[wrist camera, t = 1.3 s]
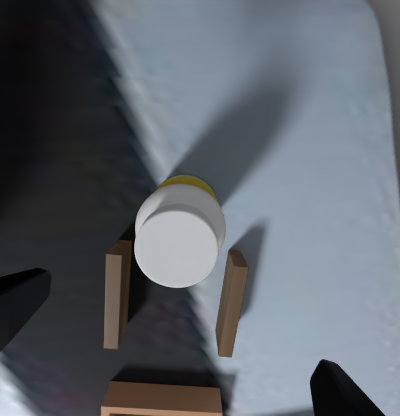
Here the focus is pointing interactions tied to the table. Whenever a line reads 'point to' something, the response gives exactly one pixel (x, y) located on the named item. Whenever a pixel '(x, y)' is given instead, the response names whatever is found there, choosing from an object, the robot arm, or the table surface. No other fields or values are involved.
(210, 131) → the table surface
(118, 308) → the walled lane
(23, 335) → the table surface
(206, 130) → the table surface
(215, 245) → the supplement bottle
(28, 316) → the robot arm
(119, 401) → the trap pit
